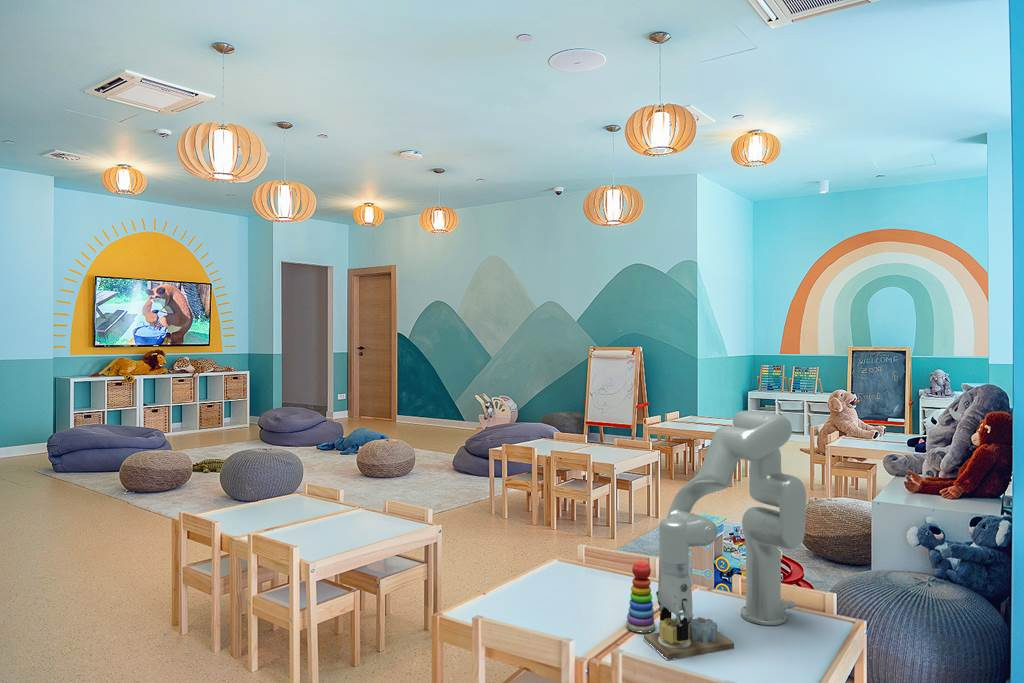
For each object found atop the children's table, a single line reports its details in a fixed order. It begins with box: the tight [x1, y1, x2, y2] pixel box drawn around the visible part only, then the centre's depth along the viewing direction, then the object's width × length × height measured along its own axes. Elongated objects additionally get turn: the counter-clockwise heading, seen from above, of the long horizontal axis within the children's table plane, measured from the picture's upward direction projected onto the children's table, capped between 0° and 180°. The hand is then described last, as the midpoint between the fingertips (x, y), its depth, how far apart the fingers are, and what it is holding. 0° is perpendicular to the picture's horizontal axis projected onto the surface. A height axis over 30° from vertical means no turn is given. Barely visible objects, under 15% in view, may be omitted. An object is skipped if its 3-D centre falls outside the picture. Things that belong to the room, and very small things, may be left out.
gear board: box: [643, 617, 735, 660], centre depth 185 cm, size 20×12×6 cm, turn 108°
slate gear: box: [689, 617, 718, 643], centre depth 186 cm, size 8×8×4 cm
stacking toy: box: [626, 560, 656, 633], centre depth 195 cm, size 8×8×19 cm
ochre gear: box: [658, 617, 689, 643], centre depth 183 cm, size 8×8×4 cm
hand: (673, 633), depth 183 cm, fingers closed on ochre gear, 7 cm apart
